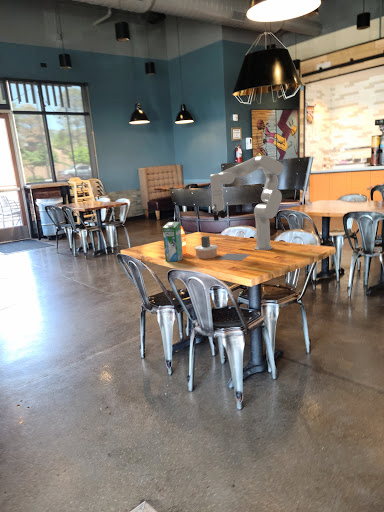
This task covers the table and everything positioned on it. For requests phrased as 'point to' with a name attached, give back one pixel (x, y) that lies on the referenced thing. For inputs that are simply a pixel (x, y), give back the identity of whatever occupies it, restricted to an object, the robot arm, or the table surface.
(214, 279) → the table surface
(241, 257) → the mat
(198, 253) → the bowl
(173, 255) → the milk carton
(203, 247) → the lid
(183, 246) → the orange juice
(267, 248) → the robot arm
